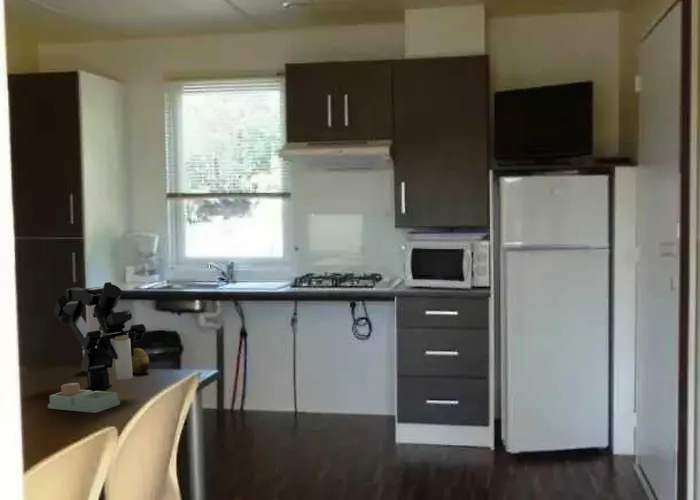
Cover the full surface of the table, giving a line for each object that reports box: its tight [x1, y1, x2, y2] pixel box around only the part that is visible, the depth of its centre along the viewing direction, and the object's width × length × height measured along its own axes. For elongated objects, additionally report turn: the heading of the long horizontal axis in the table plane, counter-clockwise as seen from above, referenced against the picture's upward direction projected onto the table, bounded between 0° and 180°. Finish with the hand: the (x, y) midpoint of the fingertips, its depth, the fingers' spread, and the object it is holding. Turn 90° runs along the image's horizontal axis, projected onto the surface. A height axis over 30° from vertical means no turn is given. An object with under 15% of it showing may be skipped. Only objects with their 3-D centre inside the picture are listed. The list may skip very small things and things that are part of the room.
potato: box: [131, 347, 151, 374], centre depth 291 cm, size 8×13×8 cm, turn 11°
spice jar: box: [112, 335, 134, 380], centre depth 252 cm, size 5×5×13 cm
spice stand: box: [47, 382, 121, 414], centre depth 243 cm, size 19×10×6 cm, turn 63°
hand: (124, 357), depth 250 cm, fingers closed on spice jar, 5 cm apart
